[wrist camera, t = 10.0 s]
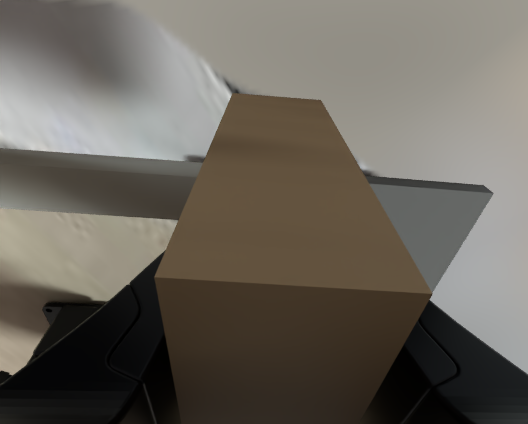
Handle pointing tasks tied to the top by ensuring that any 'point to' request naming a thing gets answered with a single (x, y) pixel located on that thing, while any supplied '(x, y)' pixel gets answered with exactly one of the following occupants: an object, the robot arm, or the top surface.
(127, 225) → the top surface
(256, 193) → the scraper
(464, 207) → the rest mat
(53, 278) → the top surface
